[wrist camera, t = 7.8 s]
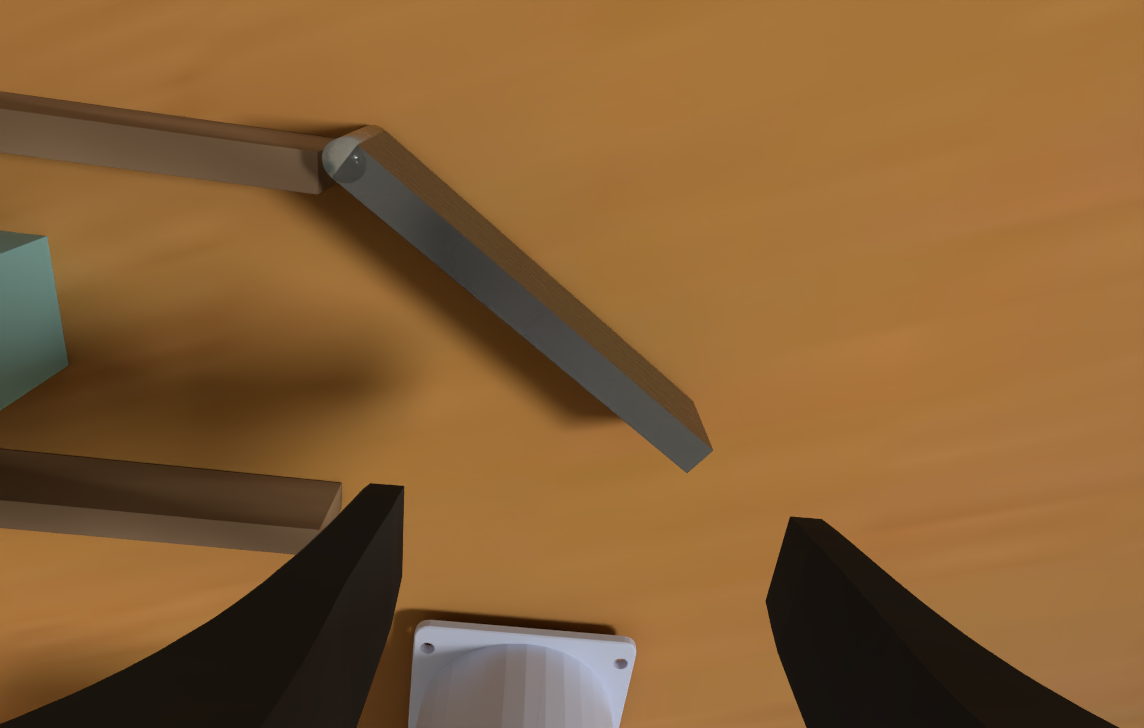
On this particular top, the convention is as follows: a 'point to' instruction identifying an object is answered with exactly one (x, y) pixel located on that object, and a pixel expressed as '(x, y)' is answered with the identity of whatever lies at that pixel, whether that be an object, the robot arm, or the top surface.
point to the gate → (515, 289)
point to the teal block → (27, 316)
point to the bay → (147, 491)
